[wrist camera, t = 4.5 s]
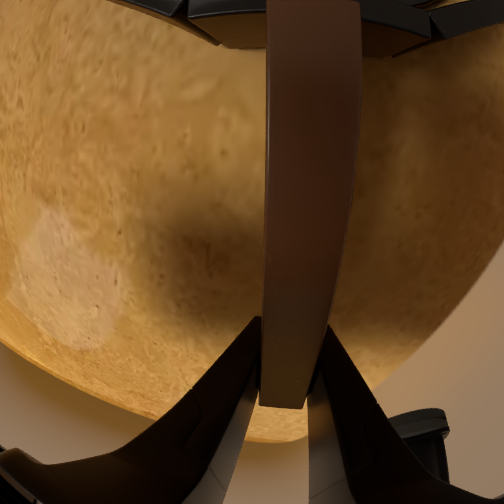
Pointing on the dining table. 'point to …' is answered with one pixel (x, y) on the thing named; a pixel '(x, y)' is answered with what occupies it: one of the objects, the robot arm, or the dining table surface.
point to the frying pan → (311, 143)
